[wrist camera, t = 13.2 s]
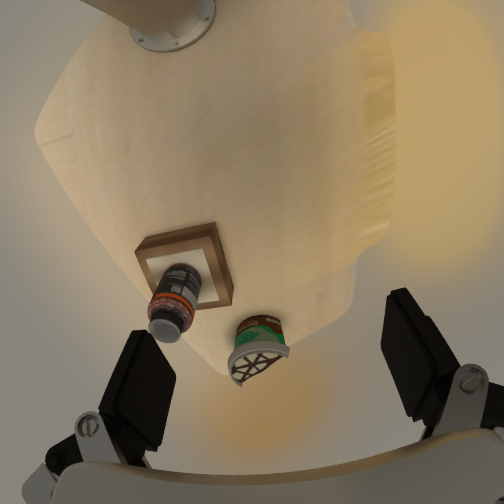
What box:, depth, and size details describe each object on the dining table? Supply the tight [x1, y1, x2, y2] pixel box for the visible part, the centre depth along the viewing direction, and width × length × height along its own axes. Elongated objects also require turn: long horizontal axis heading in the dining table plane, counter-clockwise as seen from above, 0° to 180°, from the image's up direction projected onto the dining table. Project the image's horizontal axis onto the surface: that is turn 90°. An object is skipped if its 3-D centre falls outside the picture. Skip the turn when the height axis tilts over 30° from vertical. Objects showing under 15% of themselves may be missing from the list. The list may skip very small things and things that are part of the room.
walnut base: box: [134, 222, 234, 310], centre depth 42 cm, size 12×12×5 cm
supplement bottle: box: [148, 264, 202, 343], centre depth 35 cm, size 6×6×11 cm
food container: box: [228, 315, 290, 387], centre depth 46 cm, size 12×6×10 cm, turn 138°
